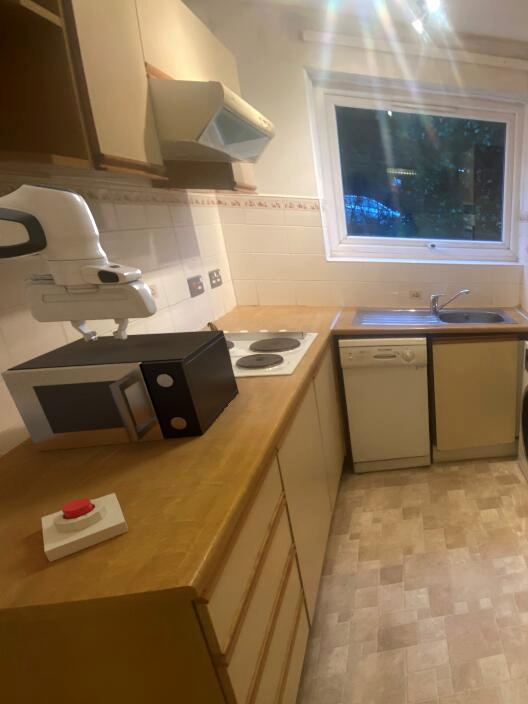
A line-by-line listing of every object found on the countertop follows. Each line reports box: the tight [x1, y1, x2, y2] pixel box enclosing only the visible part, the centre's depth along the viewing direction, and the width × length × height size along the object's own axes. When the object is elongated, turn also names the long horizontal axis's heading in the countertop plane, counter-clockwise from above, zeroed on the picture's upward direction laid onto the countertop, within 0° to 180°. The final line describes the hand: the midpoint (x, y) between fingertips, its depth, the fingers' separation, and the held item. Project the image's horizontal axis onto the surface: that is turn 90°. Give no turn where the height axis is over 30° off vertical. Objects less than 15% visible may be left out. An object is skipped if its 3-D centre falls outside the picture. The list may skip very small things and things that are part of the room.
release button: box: [61, 498, 93, 519], centre depth 76 cm, size 4×4×2 cm
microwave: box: [6, 329, 240, 440], centre depth 113 cm, size 28×34×20 cm
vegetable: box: [206, 321, 233, 365], centre depth 139 cm, size 4×4×20 cm
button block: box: [40, 492, 129, 563], centre depth 76 cm, size 12×10×4 cm
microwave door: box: [0, 362, 166, 453], centre depth 98 cm, size 8×26×20 cm, turn 104°
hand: (107, 339), depth 92 cm, fingers open, 4 cm apart
